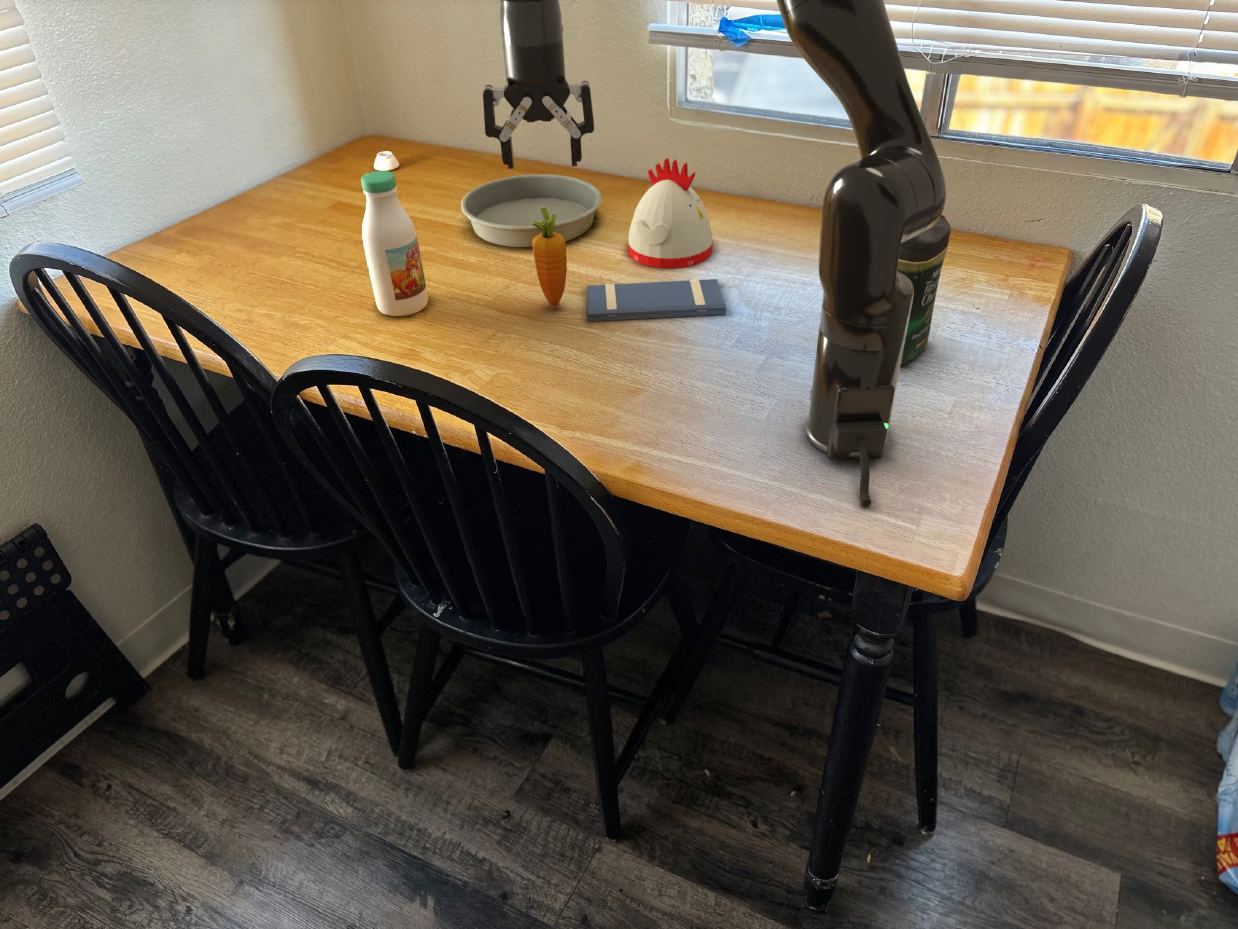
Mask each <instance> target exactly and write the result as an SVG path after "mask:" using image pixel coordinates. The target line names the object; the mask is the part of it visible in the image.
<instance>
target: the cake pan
mask: <svg viewBox="0 0 1238 929" xmlns="http://www.w3.org/2000/svg"><path fill="white" fill-rule="evenodd" d="M602 201H603V195H602V192H601V190H599V188H597V187H596V186H595V185H593V184H592V183H590V182H588V181H586V180H584V179H580V178H576V177H573V176H569V175H561V174H553V173H552V174H551V173H543V174H542V173H533V174H519V175H511V176H508V177H502V178H498V179H495V180H491V181H488V182H486V183H483V184H481V185H478V186H476V187H475V188H473V189H472V190H470V191H469V192H467V193H466V194H465V196H464V197H463V198H462V200H461V202H460V209H461V211H462V213H463V215H465V217H466V218H467V219H469V221H470V223H471V226H472V228H473V231H474V233H475V234H476V235H477V236H478V237H479V238H481V239H482V240H484V241H486V242H489V243H491V244H494V245H499V246H503V247H510V248H533V245H532V241H533V239H534V237H536V236H537V235H539V234H541V233H542V232H541V230H540V229H539V228H537V227H536V226H533V225H531V222H532V221H536V222H539V223H540V221H541V220H542V221H544V222H545V220H544V218H543V215H542V212H541V208H542V207H546V208H547V211H548V213H549V216H550V219H551V214H552V213H554V214H555V215H556V221H555V226H554V230H553V232H555V233H559V234H561V235H563V238H564V240H565V242H568V241H571V240H573V239H576V238H578V237H580V236H581V235H583V234H584V233H586V232H587V231H588V230H589V229H590V228H591V227H592V225H593V223H594V222H593V221H594V217H595V213H596V210H598V209H599V207H600V206H601V204H602ZM545 224H546V223H545Z"/></svg>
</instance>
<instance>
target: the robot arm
mask: <svg viewBox="0 0 1238 929" xmlns="http://www.w3.org/2000/svg"><path fill="white" fill-rule="evenodd" d="M499 3H500V4H499V5H500V7H499V9H500V10H499V21H500V22H499V23H500V33H501V39H502V50H503V60H504V68H505V69H504V70H505V81H506V82H505V83H506V84H505V86H504V87H494V86H492V85H491V84H486V85H485V86H484V88H483V92H482V102H483V119H484V134H485V136H486V137H487V138H493V139H497V140H498V141H499V143H500V150H501V152H500V153H501V160H502V163H503V165H504V166H506V165H507V169H508V170H514V168H515V158H514V148H513V138H512V134H514V131H515V130H516V129H517V127H518V126H519V124H520V122H522V120H523V121H526V123H536V122H538V121H541V122H544V123H546V122H552V120H554V119H556V120H557V122H558V123H559V124H560V125H561V126H562V127H564V128H565V130H566V131H567V132H568V134H570V135H569V140H570V141H569V142H570V159H571V167H578V163H580V162H581V161H582V158H583V154H582V137H583V136H585V135H586V134H593V132H594V131H595V122H594V121H595V118H594V111H593V101H592V93H591V84H590V82H589V81H588V80H582V81H581V82H580V83H575V84H574V83H573V84H569V83H568V81H567V78H566V67H565V65H566V64H565V50H564V48H565V47H564V34H563V33H564V25H563V18H562V11H561V5H560V0H499ZM776 3H777V7H778V10H779V13H780V16H781V19H782V22H783V25H784V27H785V31H786V32H787V35H788V38H789V39H790V41H791V43H792V45H793V46H794V47H795V49H796V50H797V52H798V53H799V54H800V56H801V57H802V58H803V60H804V61H805V62H806V63H807V65H808V66H809V67H810V68H811V70H813V72H814V73H815V74H816V75H817V76H818V77H819V78H820V79H821V81H823V83H824V84H825V85H826V86H827V87H828V88H829V89H830V90H831V92H832V94H834V96H835V97H836V98H837V99H838V101H839V103H840V104H841V106H842V107H843V110H844V111H845V114H846V115H847V117H848V120H849V122H850V126H851V127H852V131H853V133H854V136H855V140H856V143H857V147H858V150H859V154H860V159H857V160H855V161H853V162H850V163H848V164H846V165H843V166H842V167H841V168H840V169H839V170H837V171H836V172H835V173H834V175H833V176H832V177H831V179H830V181H829V183H828V185H827V187H826V190H825V193H824V197H823V202H822V208H821V215H820V216H821V217H820V231H819V232H820V234H819V252H818V277H819V281H820V284H821V288H822V303H821V311H820V318H819V327H818V334H817V335H818V336H817V342H816V343H817V344H816V350H815V351H816V352H815V360H814V369H813V377H812V385H811V389H810V397H809V400H810V402H809V403H810V404H809V410H808V411H809V413H808V420H807V422H806V424H807V425H806V430H805V431H806V437H807V439H808V441H809V442H810V443H811V445H813V446H814V447H815V448H816V449H818V450H819V451H821V452H823V453H825V454H827V456H828V459H829V460H844V459H845V460H846V459H859V463H860V480H859V497H860V501H861V502H860V503H861V504H862V506H864V507H869V506H871V504H872V500H871V497H870V480H871V478H870V477H871V476H870V475H871V471H870V470H871V469H870V458H881V457H883V456H884V452H885V447H886V446H887V444H888V441H889V435H890V431H889V430H890V425H891V419H892V413H893V408H894V402H895V396H896V391H897V386H898V380H899V375H900V369H901V365H902V364H901V360H902V354H903V349H904V343H905V338H906V333H907V328H908V323H909V317H910V312H911V307H912V301H913V295H914V288H913V284H912V282H911V280H910V279H909V278H908V277H907V276H906V275H904V274H903V273H901V272H899V271H897V267H898V258H899V251H900V245H901V244H902V243H904V242H906V241H908V240H910V239H912V238H914V237H916V236H918V235H920V234H921V233H923V232H925V231H927V230H928V229H930V228H931V227H932V226H933V225H934V224H935V223H936V222H937V221H938V219H939V218H940V216H941V215H943V211H944V209H945V204H946V200H947V187H946V180H945V174H944V170H943V168H942V164H941V162H940V159H939V155H938V154H937V151H936V149H935V148H936V147H935V145H934V143H933V141H932V138H931V136H930V133H929V131H928V129H927V127H926V124H925V122H924V119H923V117H922V113H921V111H920V109H919V107H918V104H917V101H916V99H915V96H914V94H913V91H912V88H911V85H910V83H909V80H908V77H907V75H906V70H905V67H904V64H903V60H902V57H901V54H900V50H899V47H898V44H897V40H896V38H895V34H894V31H893V27H892V25H891V21H890V18H889V15H888V12H887V8H886V3H885V1H884V0H776ZM570 95H572V96H574V98H575V101H576V102H577V103H581V106H582V113H583V121H581V122H578V121H577V120H576V119H575V118H574V116H573V115H572V114H571V112H570V110H569V109H568V108H567V107H566V105H565V103H566V102H567V101H568V99H569V97H570ZM502 98H504V99H505V100H506V102H507V103H508V104H509V105H510V107H511V108H512V110H510V112H509V114H508V116H507V118H506V120H505V122H504V124H503V125H501V126H500V125H497V124H496V110H495V109H496V107H498V106H499V104H500V102H501V100H502Z"/></svg>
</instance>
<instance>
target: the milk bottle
mask: <svg viewBox="0 0 1238 929" xmlns="http://www.w3.org/2000/svg"><path fill="white" fill-rule="evenodd" d="M360 182H361V187H362V190H363V195H365V197H366V204H365V205H366V206H365V211H364V212H365V213H364V216H363V220H362V225H361V226H362V227H361V234H362V243H363V249H364V254H365V260H366V263H367V268H368V274H369V278H370V282H371V287H372V291H373V296H374V300H375V304H376V307H377V309H378V311H379V312H380V313H382V314H383V315H385V316H390V317H403V316H405V317H406V316H410V315H413V314H417V313H418V312H420V311H422V310H423V309H425V308H426V307H427V305H428V302H429V297H428V290H427V283H426V279H425V274H424V273H425V272H424V267H423V262H422V257H421V256H422V255H421V250H420V247H419V241H418V236H417V232H416V229H415V226H414V223H413V220H412V218H411V217H410V216H409V214H408V212H407V211H406V210H405V208H404V206H403V205H402V204H401V201H400V199H399V198H398V194H397V191H398V187H397V182H396V176H395V174H394V173H393V172H391V171H380V170H375V171H370V172H368V173H365V174H363V175H362V177H361V178H360Z"/></svg>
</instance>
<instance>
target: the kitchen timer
mask: <svg viewBox="0 0 1238 929" xmlns="http://www.w3.org/2000/svg"><path fill="white" fill-rule="evenodd" d="M669 160H670V159H669V157H666V158H665V159H664V160H663V165H661V163H658V162H657V164H655V167H654V168H655V173H656V175H655V173H654V171H653V169H652V168H650V169H648V170H647V175H648V178H649V180H650V183H651V186H650V187H649V188H648V189H647V190H646V192H644V194H643V196H642V197H641V199H640V200H639V202H638V204H637V206H636V208H635V210H634V212H633V217H632V220H631V223H630V226H629V230H628V255H629V256H630V258H631V259H632V260H634V261H636V262H637V263H639V264H641V265H645V266H647V267H651V268H659V269H680V268H687V267H691V266H692V267H693V266H695V265H698V264H700V263H702V262H705V261H706V260H707V259H708V258H710V257H711V256H712V253H713V246H714V244H713V243H714V239H713V232H712V227H711V223H710V221H709V217H708V216H709V215H708V212H707V210H706V207H705V204H704V202H703V200H702V199H701V198H700V196H699V195H698V193H697V192H696V191H695V190H694V189H693V188H692V187H691V185H692V183H693V181H694V178H695V177H696V171H694V172H693V173H691V175H688V174H689V172H688V171H689V168H688V165H689V164H688V162H685V163H683V164H682V167H681V170H680V171H679V164H678V159H674V160H673V161H672V164H670V161H669ZM662 166H663V167H662Z"/></svg>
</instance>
